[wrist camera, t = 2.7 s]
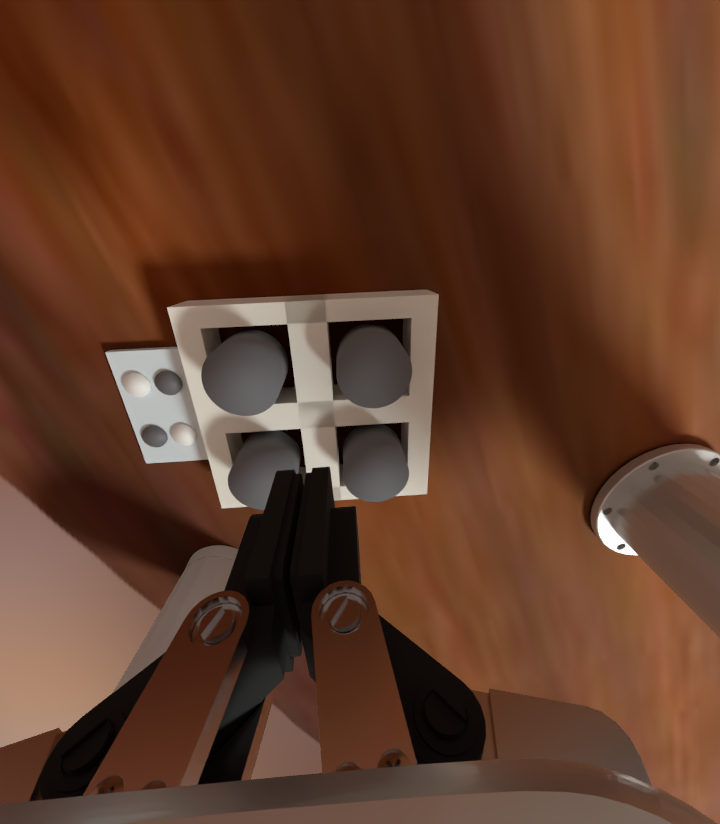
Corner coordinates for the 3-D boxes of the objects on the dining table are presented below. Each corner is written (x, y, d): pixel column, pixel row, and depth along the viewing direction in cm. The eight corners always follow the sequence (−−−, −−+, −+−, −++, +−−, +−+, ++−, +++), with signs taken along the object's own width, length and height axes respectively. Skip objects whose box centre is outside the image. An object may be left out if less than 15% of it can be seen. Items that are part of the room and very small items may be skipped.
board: (426, 289, 23) (438, 294, 20) (418, 471, 30) (426, 493, 27) (187, 300, 22) (166, 307, 20) (232, 484, 29) (221, 508, 26)
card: (183, 346, 24) (179, 349, 23) (212, 455, 28) (209, 460, 27) (110, 349, 23) (103, 353, 23) (150, 459, 27) (144, 464, 27)
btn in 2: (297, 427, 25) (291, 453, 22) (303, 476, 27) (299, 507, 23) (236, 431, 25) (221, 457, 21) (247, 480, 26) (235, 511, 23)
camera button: (402, 321, 22) (413, 333, 19) (401, 385, 24) (411, 406, 21) (334, 325, 22) (333, 337, 19) (338, 389, 24) (338, 410, 20)
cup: (169, 542, 31) (79, 696, 20) (256, 535, 32) (214, 684, 21) (190, 599, 35) (124, 757, 24) (269, 593, 35) (239, 746, 24)
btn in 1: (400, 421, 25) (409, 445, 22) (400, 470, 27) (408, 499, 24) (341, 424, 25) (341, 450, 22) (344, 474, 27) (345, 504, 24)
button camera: (284, 327, 22) (274, 341, 18) (292, 391, 23) (285, 413, 20) (213, 331, 21) (192, 345, 18) (228, 395, 23) (211, 418, 20)
